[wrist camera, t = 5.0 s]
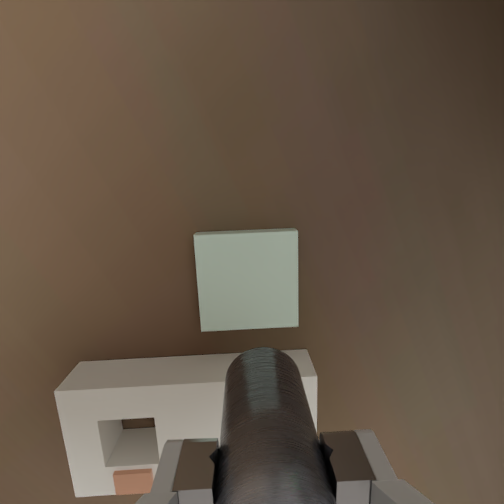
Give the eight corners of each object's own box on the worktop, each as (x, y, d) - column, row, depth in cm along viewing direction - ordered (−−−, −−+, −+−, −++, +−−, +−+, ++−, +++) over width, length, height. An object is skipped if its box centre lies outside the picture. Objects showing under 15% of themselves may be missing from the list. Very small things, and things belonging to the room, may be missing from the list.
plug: (305, 340, 12) (458, 752, 4) (305, 414, 13) (429, 899, 4) (217, 344, 12) (152, 773, 3) (223, 419, 13) (181, 918, 4)
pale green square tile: (294, 227, 26) (298, 230, 24) (295, 318, 28) (298, 326, 26) (196, 232, 26) (193, 235, 24) (203, 323, 27) (201, 331, 26)
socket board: (306, 349, 28) (318, 379, 24) (306, 442, 31) (317, 485, 26) (79, 361, 28) (50, 394, 24) (96, 455, 30) (73, 502, 26)
